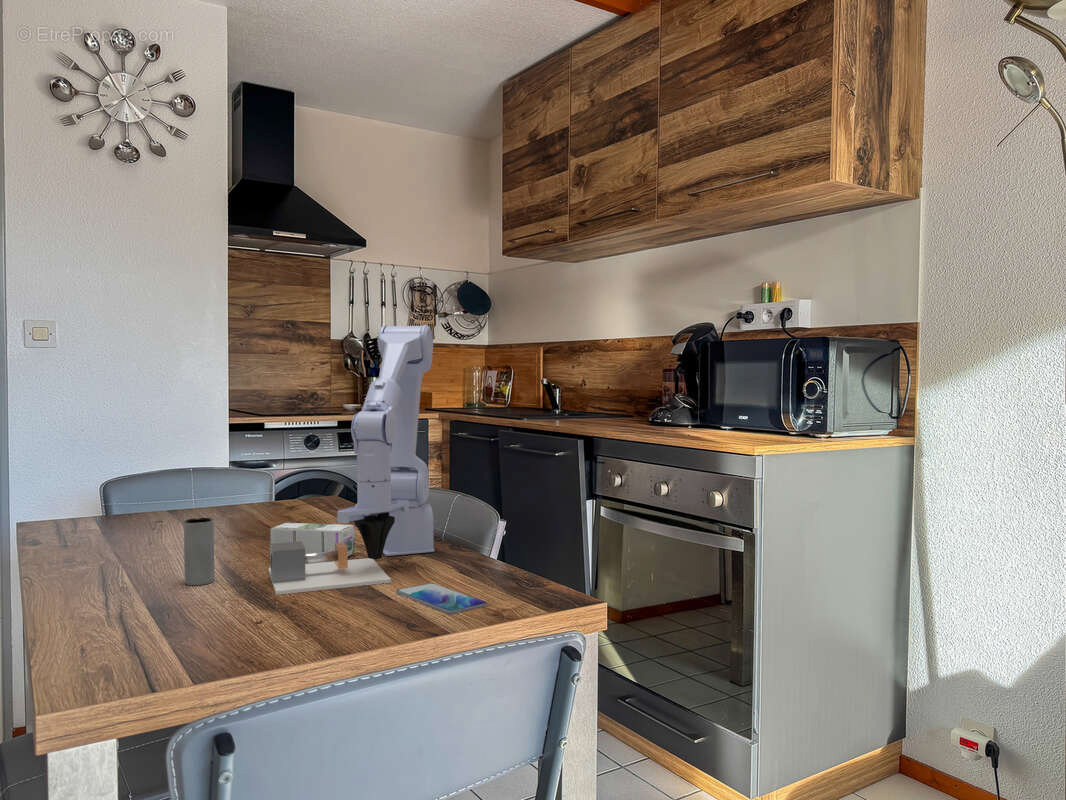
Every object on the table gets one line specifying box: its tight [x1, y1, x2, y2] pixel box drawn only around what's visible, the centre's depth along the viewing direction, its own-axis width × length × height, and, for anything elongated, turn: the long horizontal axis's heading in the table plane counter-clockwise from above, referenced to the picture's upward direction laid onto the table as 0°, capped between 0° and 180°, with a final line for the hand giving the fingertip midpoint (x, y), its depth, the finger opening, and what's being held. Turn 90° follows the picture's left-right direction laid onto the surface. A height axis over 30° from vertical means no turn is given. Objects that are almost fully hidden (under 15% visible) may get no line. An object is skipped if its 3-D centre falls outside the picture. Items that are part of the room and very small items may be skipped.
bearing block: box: [269, 541, 305, 583], centre depth 129 cm, size 5×6×5 cm
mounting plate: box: [268, 557, 392, 596], centre depth 131 cm, size 18×16×1 cm
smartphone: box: [395, 582, 488, 615], centre depth 118 cm, size 7×1×15 cm
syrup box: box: [269, 522, 356, 557], centre depth 146 cm, size 6×6×14 cm
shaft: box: [305, 542, 349, 569], centre depth 130 cm, size 10×4×4 cm, turn 113°
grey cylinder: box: [183, 517, 215, 586], centre depth 128 cm, size 4×4×10 cm
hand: (374, 558), depth 134 cm, fingers closed
